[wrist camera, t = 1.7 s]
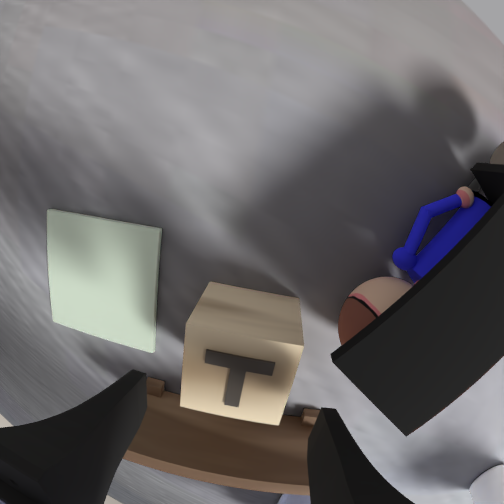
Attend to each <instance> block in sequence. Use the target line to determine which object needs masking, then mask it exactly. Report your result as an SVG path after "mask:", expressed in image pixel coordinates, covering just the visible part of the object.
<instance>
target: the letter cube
mask: <svg viewBox="0 0 504 504" xmlns="http://www.w3.org/2000/svg"><path fill="white" fill-rule="evenodd" d="M303 348H304V341H303V331H302V321H301V312H300V303H299V298H295V297H290V296H284V295H279V294H273V293H268V292H262V291H257V290H252V289H246V288H241V287H236V286H231V285H226V284H221V283H216V282H211V281H210V282H209V284H208V285H207V287H206V289H205V291H204V292H203V294H202V296H201V298H200V299H199V301H198V303H197V305H196V306H195V308H194V310H193V312H192V313H191V315H190V317H189V319H188V321H187V322H186V328H185V340H184V353H183V366H182V382H181V399H180V406H181V407H185V408H189V409H193V410H198V411H202V412H206V413H211V414H216V415H220V416H225V417H230V418H236V419H241V420H247V421H252V422H258V423H265V424H272V425H279V423H280V420H281V417H282V414H283V411H284V408H285V405H286V402H287V399H288V396H289V393H290V390H291V387H292V384H293V381H294V377H295V374H296V371H297V368H298V364H299V361H300V358H301V354H302V351H303Z"/></svg>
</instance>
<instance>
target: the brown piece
mask: <svg viewBox="0 0 504 504" xmlns="http://www.w3.org/2000/svg"><path fill="white" fill-rule="evenodd" d="M146 382H147V410H146V412H145V415H144V418H143V420H142V423H141V425H140V427H139V429H138V431H137V433H136V435H135V437H134V438H133V440H132V442H131V444H130V446H129V447H128V449H127V451H126V453H125V455H124V456H123V459H126V460H129V461H132V462H135V463H138V464H141V465H144V466H147V467H150V468H154V469H157V470H160V471H164V472H167V473H171V474H175V475H179V476H183V477H187V478H191V479H195V480H200V481H204V482H209V483H214V484H219V485H224V486H230V487H235V488H242V489H248V490H255V491H263V492H272V493H281V494H293V495H308V496H310V489H309V478H308V466H307V446H308V437H309V435H310V433H311V431H312V428H313V426H314V424H315V422H316V419H317V417H318V415H319V412H320V410H315V409H306V408H304V410H303V413H302V415H301V417H297V416H289V415H282V417H281V420H280V423H279V425H272V424H265V423H258V422H252V421H247V420H241V419H236V418H230V417H225V416H220V415H216V414H211V413H206V412H202V411H198V410H193V409H189V408H185V407H181V406H180V399H181V395H179V394H175V393H171V392H167V391H164V385H165V381H161V380H158V379H154V378H151V377H148V378H147V380H146Z"/></svg>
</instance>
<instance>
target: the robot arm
mask: <svg viewBox="0 0 504 504" xmlns="http://www.w3.org/2000/svg"><path fill="white" fill-rule="evenodd" d="M146 410H147V382H146V373H143V372H139V371H136V370H131V371H130V372H128V373H127V374H126V375H124V376H123V377H122V378H120V379H119V380H117V381H116V382H115V383H113V384H112V385H110V386H109V387H108V388H106V389H105V390H103V391H102V392H100V393H99V394H97V395H95V396H94V397H92V398H90V399H89V400H87V401H85V402H84V403H82V404H80V405H78V406H76V407H74V408H72V409H70V410H68V411H66V412H64V413H61V414H59V415H56V416H53V417H50V418H47V419H44V420H41V421H38V422H34V423H30V424H25V425H20V426H13V427H5V428H0V504H104V501H105V499H106V495H107V493H108V490H109V487H110V485H111V482H112V480H113V477H114V475H115V472H116V470H117V468H118V466H119V464H120V462H121V460H122V458H123V456H124V455H125V453H126V451H127V449H128V447H129V446H130V444H131V442H132V440H133V438H134V437H135V435H136V433H137V431H138V429H139V427H140V425H141V423H142V420H143V418H144V415H145V412H146ZM307 466H308V478H309V489H310V496H308V495H293V494H282V496H281V498H280V500H279V501H278V503H277V504H415V503H413V502H412V501H410V500H409V499H407V498H406V497H405V496H403V495H402V494H401V493H400V492H399V491H397V490H396V489H395V488H394V487H393V486H392V485H391V484H389V483H388V482H387V481H386V480H385V479H384V478H383V477H382V475H381V474H380V473H379V472H378V471H377V470H376V469H375V468H374V467H373V465H372V464H371V463H370V462H369V460H368V459H367V458H366V456H365V455H364V454H363V452H362V451H361V449H360V448H359V446H358V445H357V443H356V442H355V440H354V439H353V437H352V436H351V434H350V432H349V431H348V429H347V427H346V426H345V424H344V422H343V420H342V419H341V417H340V415H339V413H338V412H337V410H336V409H332V408H322V407H321V410H320V412H319V415H318V417H317V419H316V422H315V424H314V426H313V428H312V431H311V433H310V435H309V437H308V446H307Z"/></svg>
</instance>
